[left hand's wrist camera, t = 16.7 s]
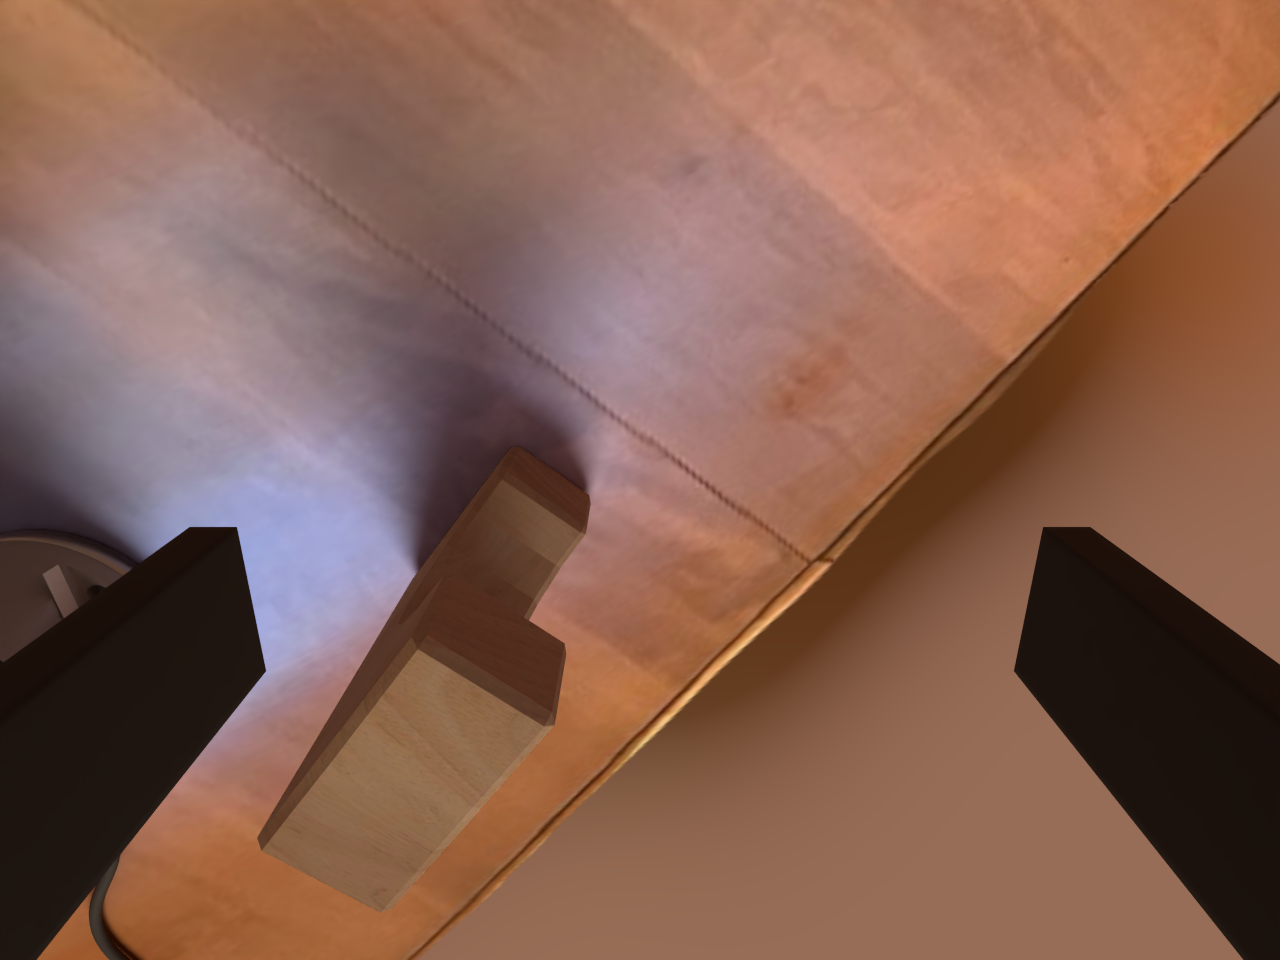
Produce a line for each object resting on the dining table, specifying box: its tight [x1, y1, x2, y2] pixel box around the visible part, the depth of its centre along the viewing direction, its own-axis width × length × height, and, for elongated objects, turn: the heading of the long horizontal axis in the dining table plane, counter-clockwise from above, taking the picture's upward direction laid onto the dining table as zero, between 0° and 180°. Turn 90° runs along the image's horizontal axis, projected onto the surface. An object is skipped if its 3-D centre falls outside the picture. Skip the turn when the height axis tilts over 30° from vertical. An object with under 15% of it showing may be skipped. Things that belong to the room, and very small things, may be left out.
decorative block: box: [257, 446, 591, 913], centre depth 35 cm, size 11×6×20 cm, turn 141°
